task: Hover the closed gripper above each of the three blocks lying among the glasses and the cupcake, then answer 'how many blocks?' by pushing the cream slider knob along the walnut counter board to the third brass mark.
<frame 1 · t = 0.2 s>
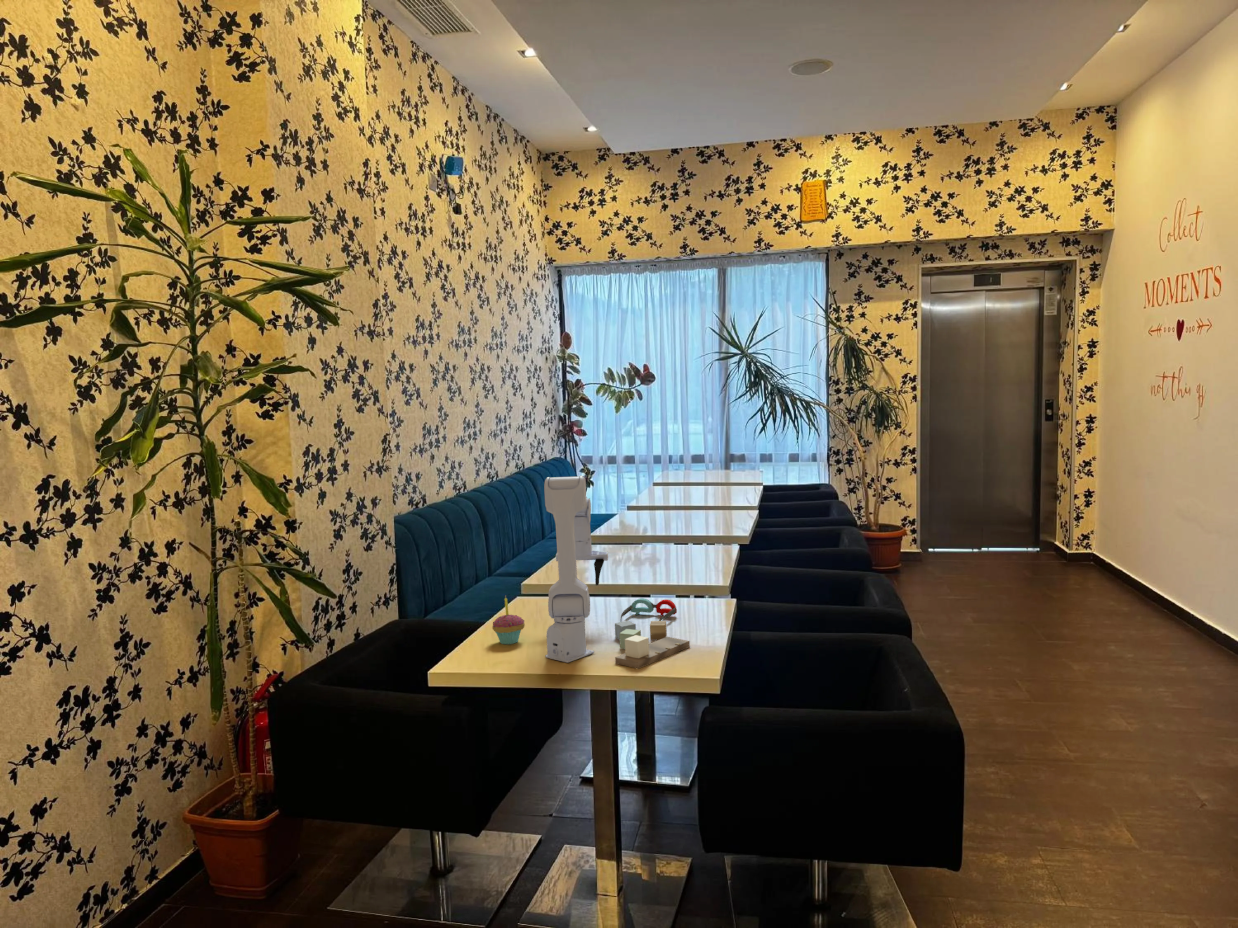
hand: (583, 584, 239), 11 cm above the table, tool pointing down, fingers open, 7 cm apart
novelty glasses: (647, 622, 237), on the table
cupcake: (509, 642, 223), on the table
oak block: (658, 638, 220), on the table
sage block: (630, 647, 213), on the table
counter board: (653, 654, 206), on the table
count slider: (636, 646, 201), point 4 cm above the table, slide at 0.0 cm
slate blue block: (625, 638, 221), on the table
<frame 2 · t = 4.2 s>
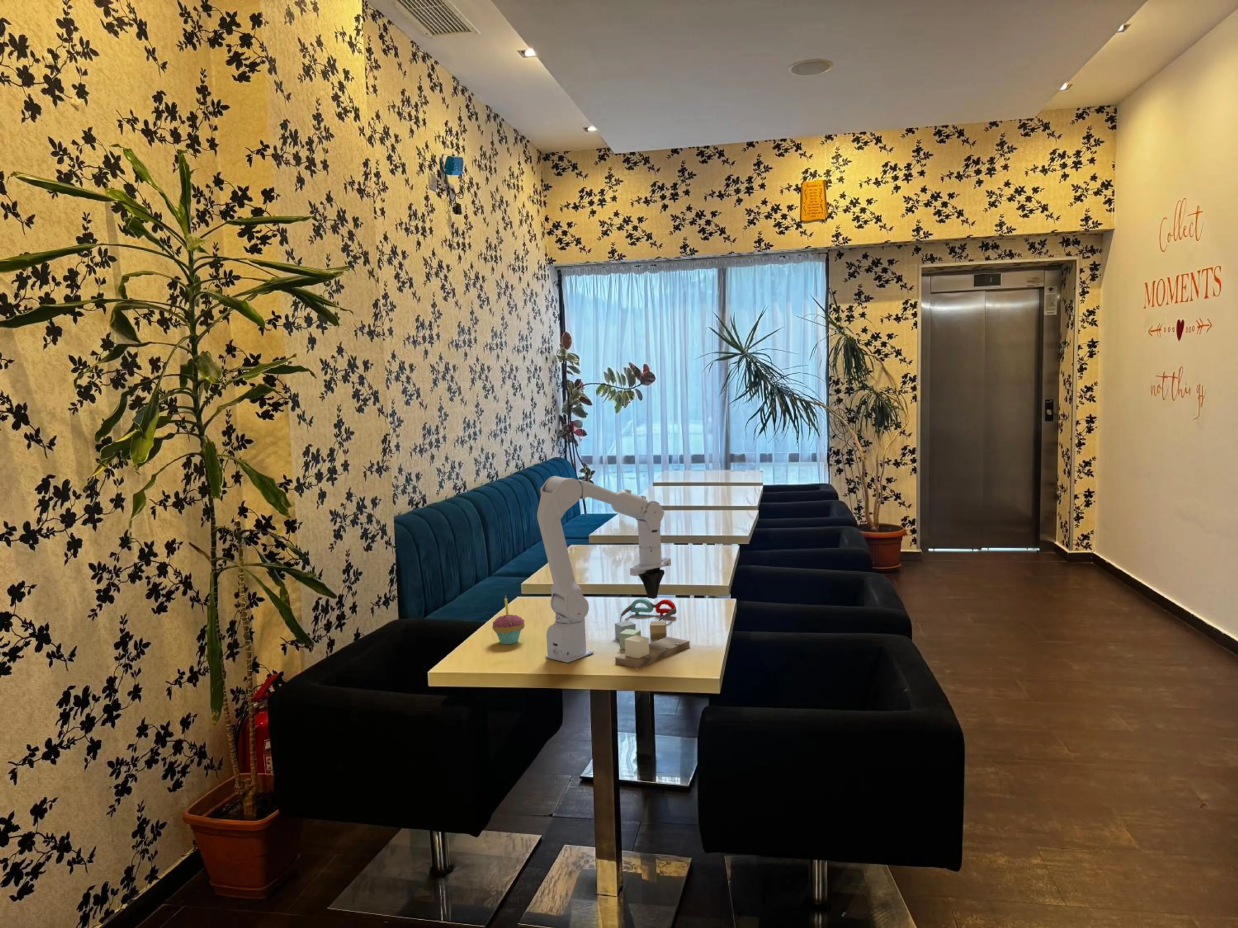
hand: (652, 597, 219), 11 cm above the table, tool pointing down, fingers closed
nothing on the table moved.
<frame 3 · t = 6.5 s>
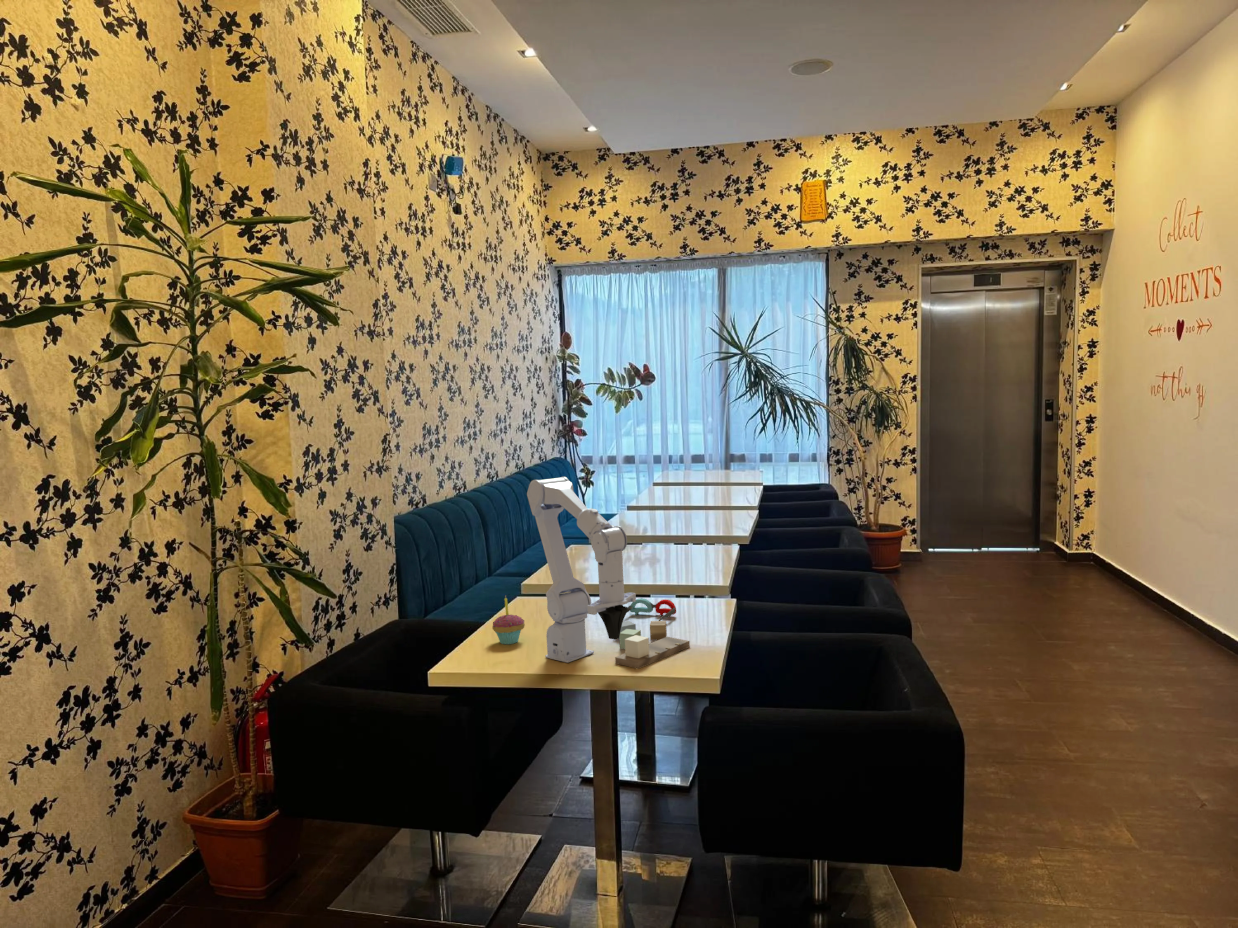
hand: (614, 638, 195), 8 cm above the table, tool pointing down, fingers closed
nothing on the table moved.
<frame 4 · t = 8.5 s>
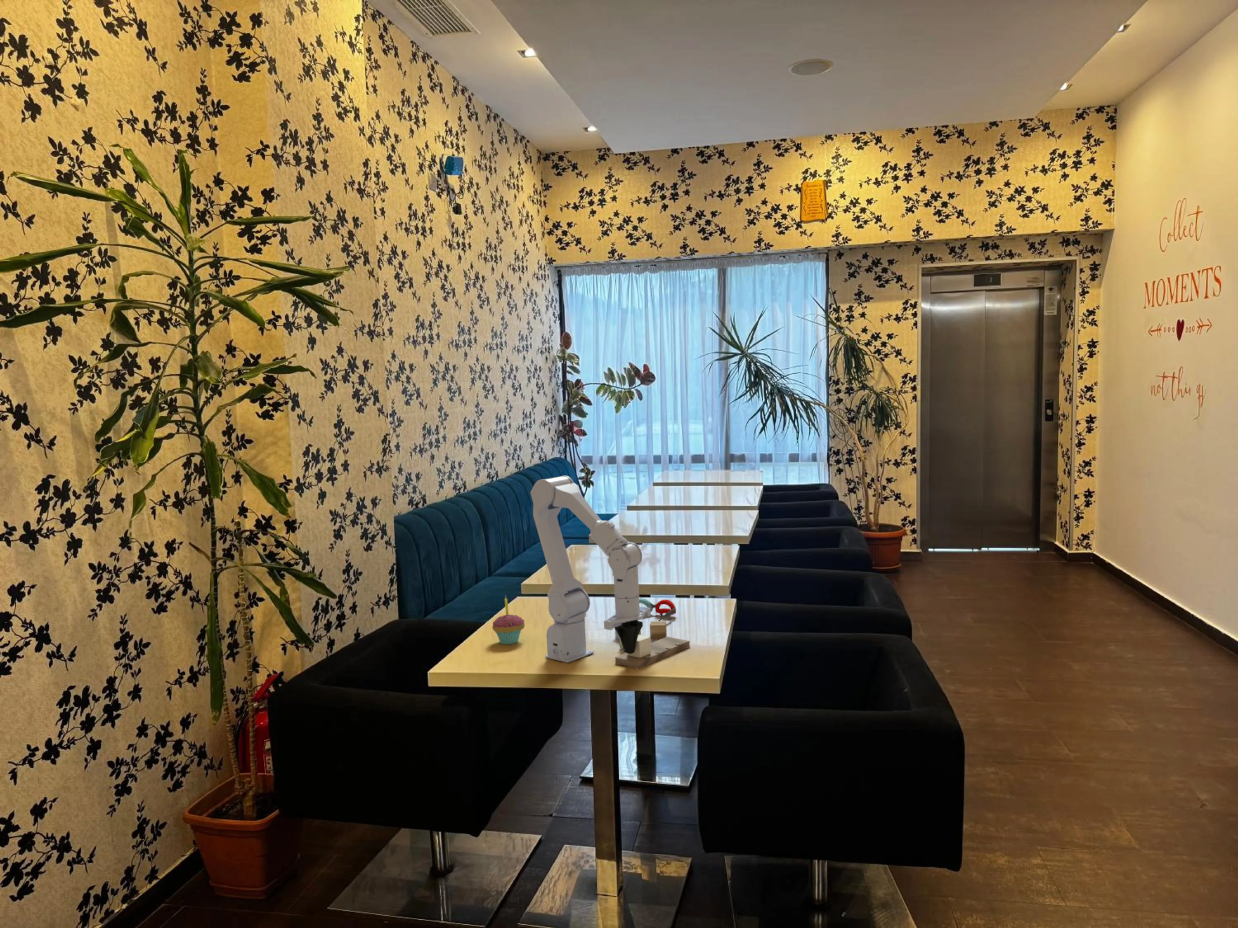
hand: (629, 652, 199), 3 cm above the table, tool pointing down, fingers closed
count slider: (638, 645, 201), point 4 cm above the table, slide at 0.6 cm, touching gripper
everything else where it was.
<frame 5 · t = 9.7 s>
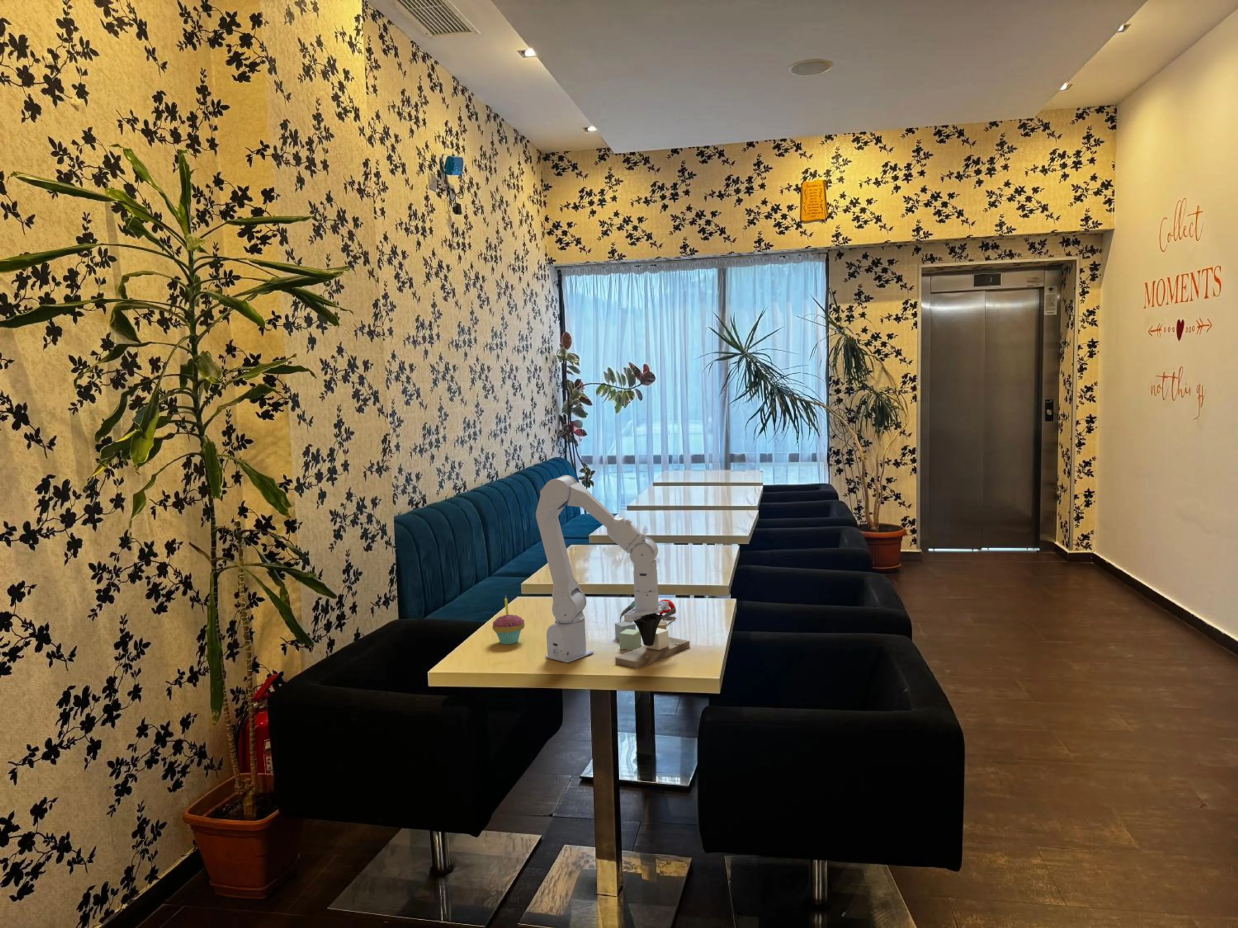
hand: (648, 644, 204), 3 cm above the table, tool pointing down, fingers closed
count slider: (657, 638, 207), point 4 cm above the table, slide at 7.7 cm, touching gripper
everything else where it was.
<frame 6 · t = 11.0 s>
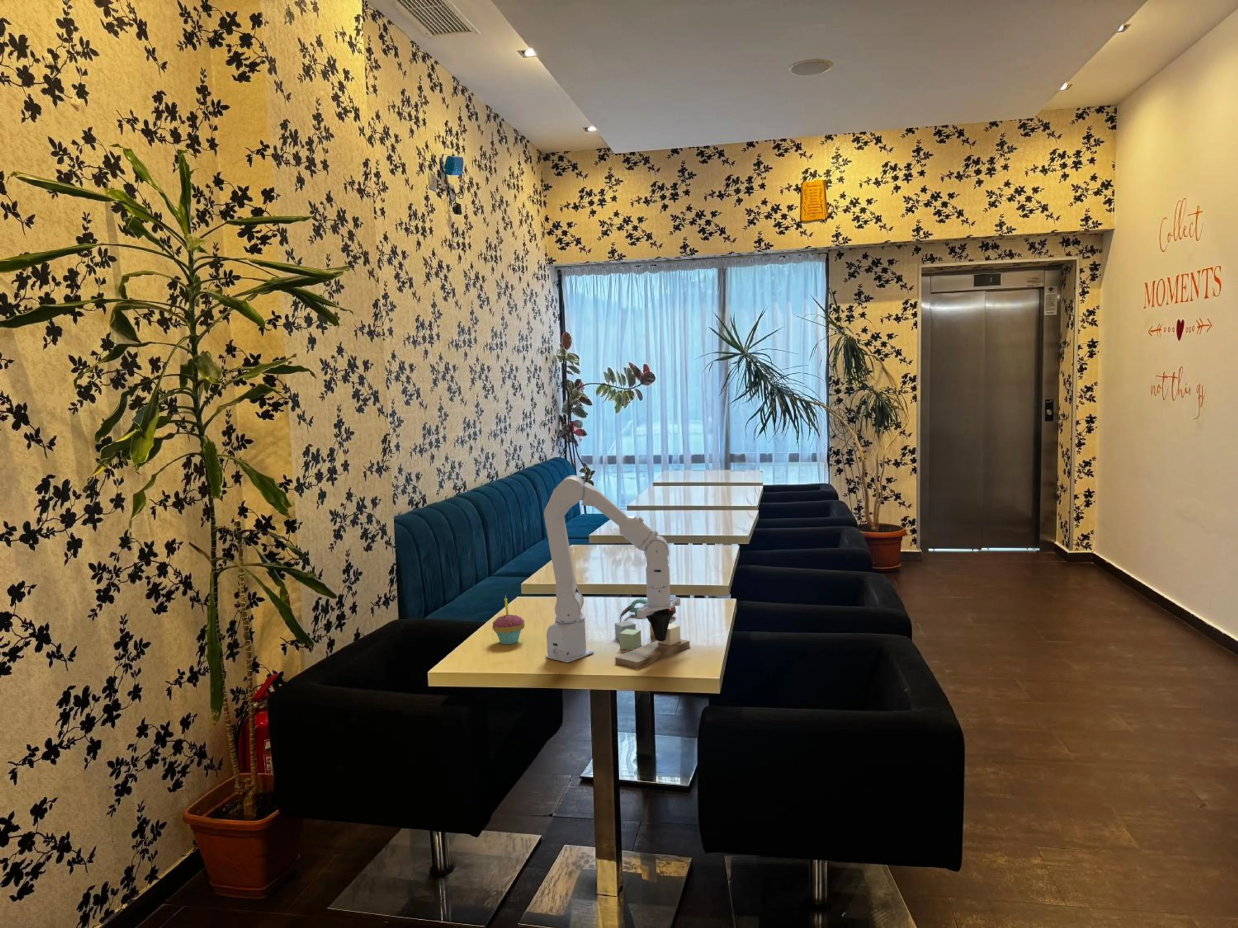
hand: (660, 640, 208), 3 cm above the table, tool pointing down, fingers closed
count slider: (668, 634, 210), point 4 cm above the table, slide at 12.3 cm, touching gripper
everything else where it was.
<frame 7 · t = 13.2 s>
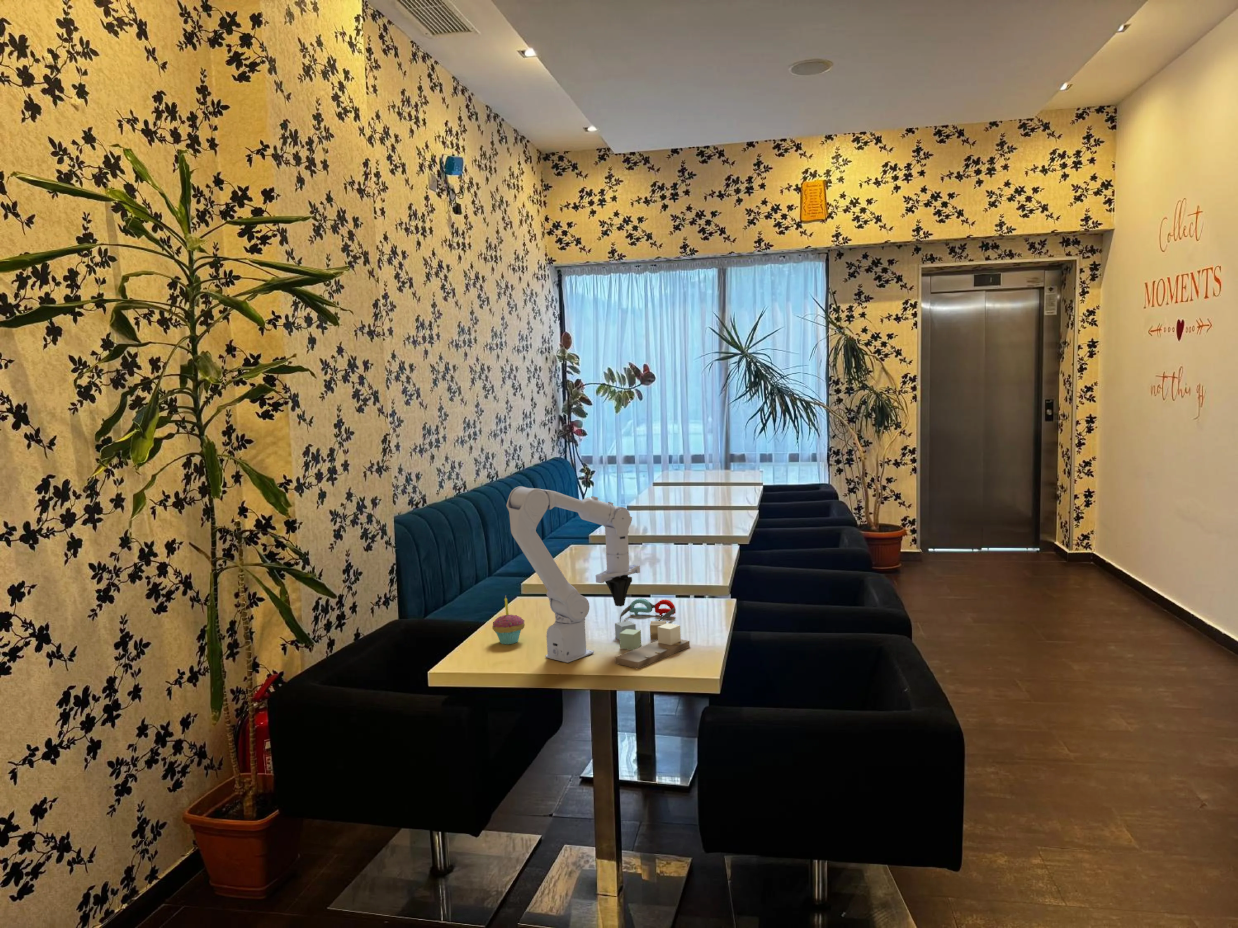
hand: (619, 605, 216), 10 cm above the table, tool pointing down, fingers closed
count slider: (669, 633, 210), point 4 cm above the table, slide at 12.4 cm
everything else where it was.
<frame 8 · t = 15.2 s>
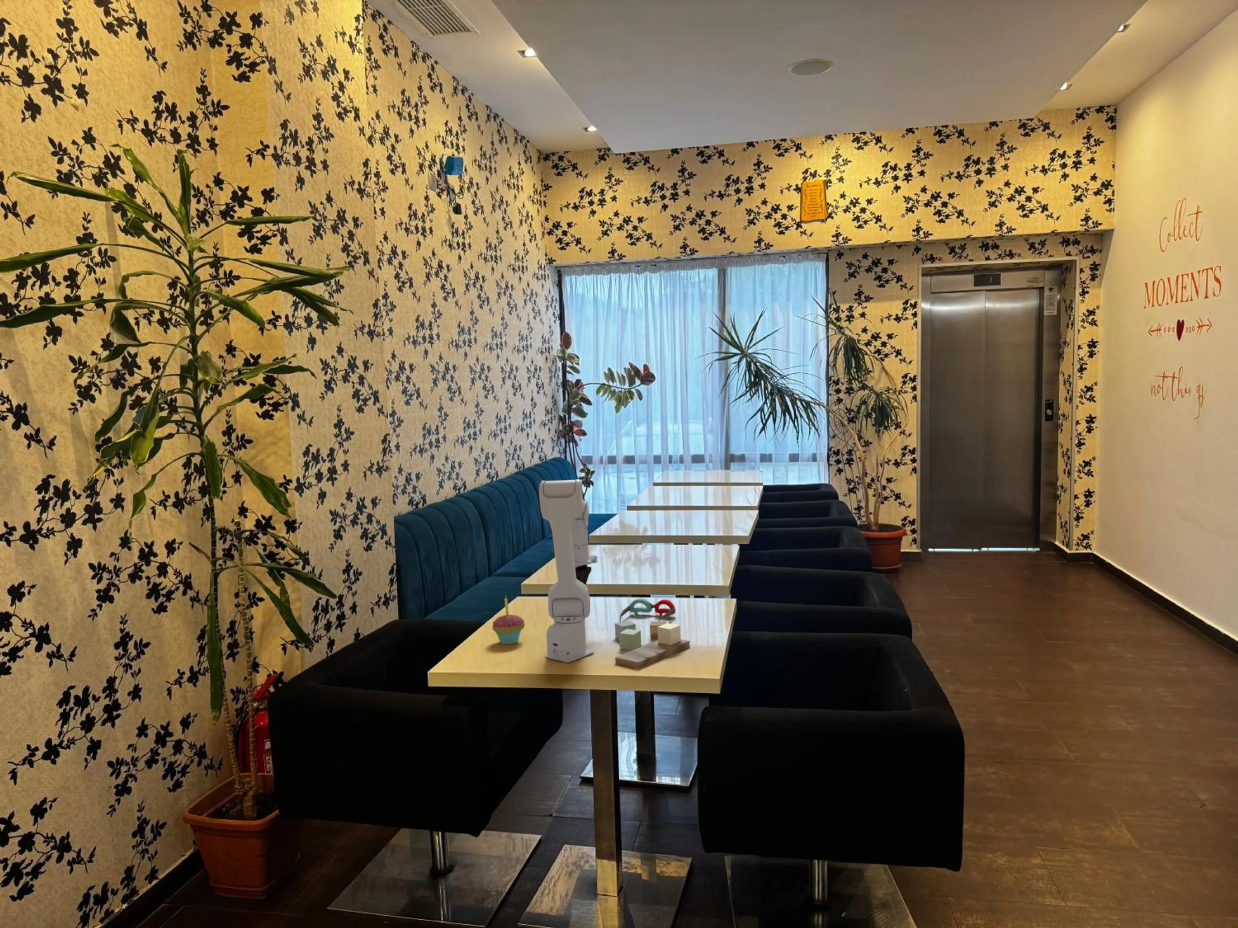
hand: (579, 594, 228), 10 cm above the table, tool pointing down, fingers closed
nothing on the table moved.
at the end: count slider slide at 12.4 cm; oak block moved 0.1 cm from its start; sage block moved 0.1 cm from its start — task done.
